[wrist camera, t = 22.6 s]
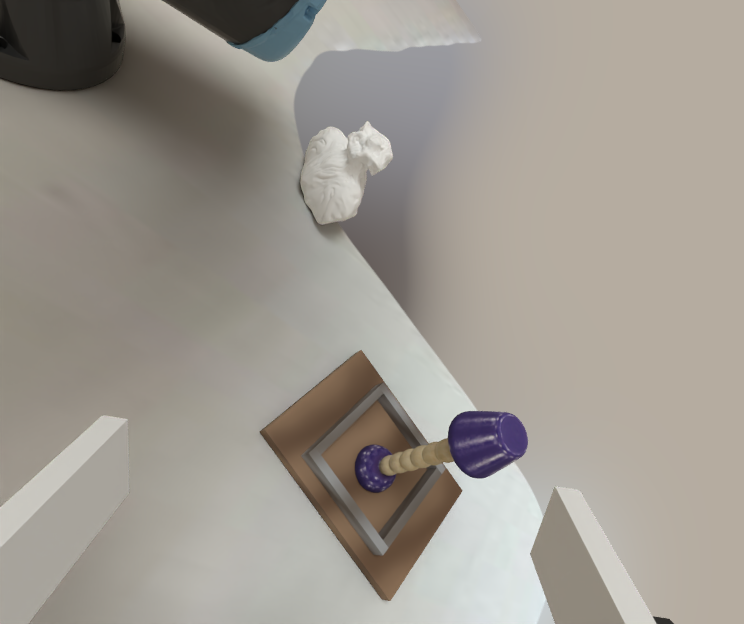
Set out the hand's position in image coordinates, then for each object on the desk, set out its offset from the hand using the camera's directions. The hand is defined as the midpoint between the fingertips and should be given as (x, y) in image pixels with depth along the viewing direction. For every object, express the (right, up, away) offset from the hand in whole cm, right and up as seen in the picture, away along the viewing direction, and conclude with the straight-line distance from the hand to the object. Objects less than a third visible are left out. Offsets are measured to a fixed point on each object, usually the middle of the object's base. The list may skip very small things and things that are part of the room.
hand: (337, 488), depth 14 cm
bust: (-5, +19, +39) cm, 44 cm away
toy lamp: (+1, -9, +28) cm, 29 cm away
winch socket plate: (+1, -9, +29) cm, 30 cm away
